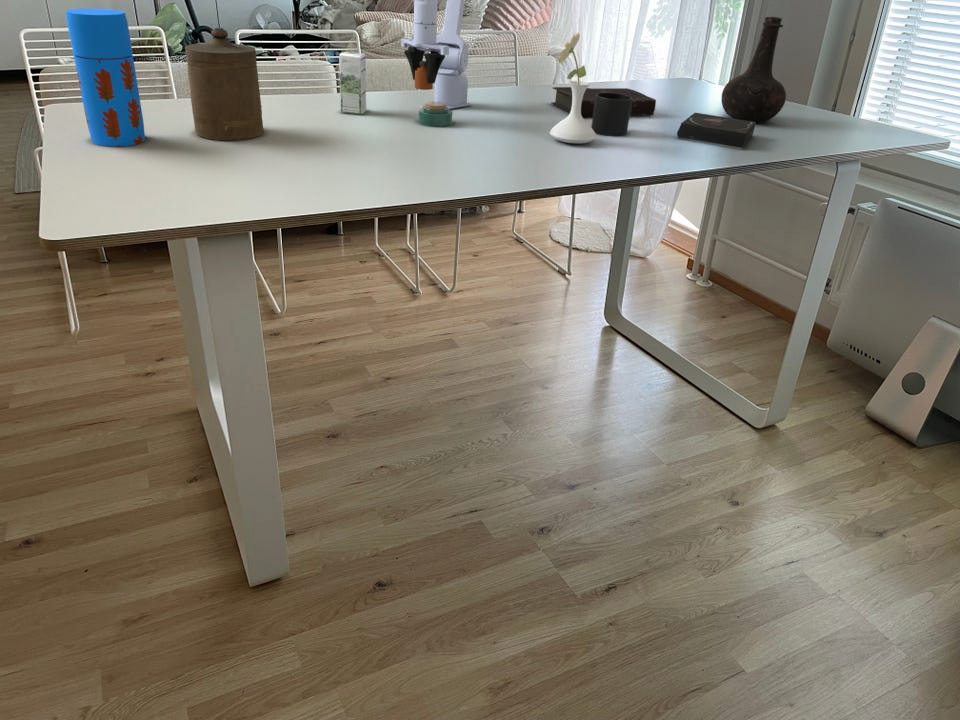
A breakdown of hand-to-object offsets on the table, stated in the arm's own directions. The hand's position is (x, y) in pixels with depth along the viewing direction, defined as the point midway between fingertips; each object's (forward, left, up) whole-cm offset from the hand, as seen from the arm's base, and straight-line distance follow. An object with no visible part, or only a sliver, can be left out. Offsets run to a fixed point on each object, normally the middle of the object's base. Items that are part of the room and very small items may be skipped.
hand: (423, 81), depth 189 cm
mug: (-32, +39, -10) cm, 51 cm away
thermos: (+69, -24, -10) cm, 74 cm away
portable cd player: (-50, +60, -10) cm, 78 cm away
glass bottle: (-81, +57, -10) cm, 99 cm away
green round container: (0, +5, -9) cm, 11 cm away
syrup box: (+9, -16, -10) cm, 21 cm away
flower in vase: (-13, +38, -10) cm, 41 cm away
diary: (-53, +23, -10) cm, 58 cm away
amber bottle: (0, 0, -2) cm, 2 cm away
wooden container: (+47, -16, -10) cm, 51 cm away
